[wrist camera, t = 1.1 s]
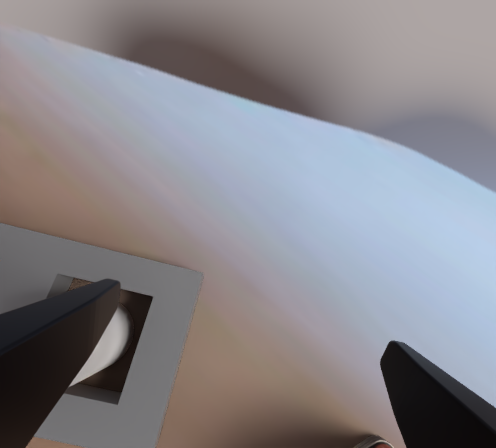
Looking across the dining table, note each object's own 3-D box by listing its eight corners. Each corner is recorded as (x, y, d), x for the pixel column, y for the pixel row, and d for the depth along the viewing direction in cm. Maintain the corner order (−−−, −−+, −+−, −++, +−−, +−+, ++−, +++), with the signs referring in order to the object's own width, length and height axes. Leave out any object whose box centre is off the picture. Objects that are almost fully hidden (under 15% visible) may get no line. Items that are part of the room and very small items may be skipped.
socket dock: (157, 443, 20) (136, 496, 14) (-182, 370, 18) (-356, 396, 13) (203, 276, 23) (201, 265, 18) (-74, 208, 22) (-171, 173, 17)
